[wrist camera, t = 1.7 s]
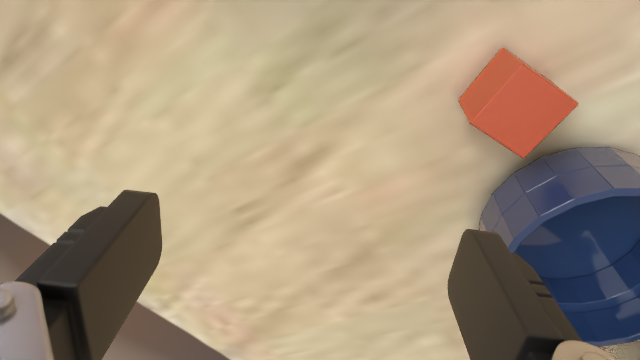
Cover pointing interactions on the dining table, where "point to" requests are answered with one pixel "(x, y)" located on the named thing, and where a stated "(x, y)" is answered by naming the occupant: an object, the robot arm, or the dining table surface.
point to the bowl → (578, 236)
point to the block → (515, 103)
